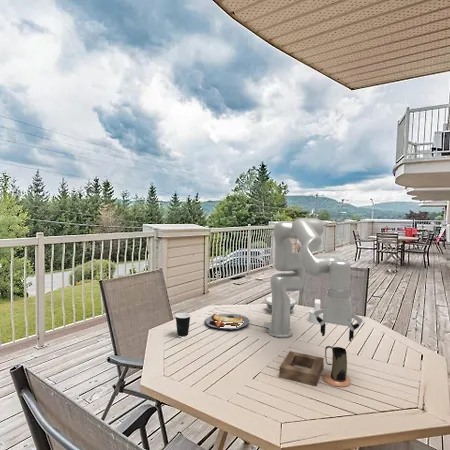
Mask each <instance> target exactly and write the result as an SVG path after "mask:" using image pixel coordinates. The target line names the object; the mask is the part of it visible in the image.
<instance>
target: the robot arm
mask: <svg viewBox="0 0 450 450" xmlns="http://www.w3.org/2000/svg"><path fill="white" fill-rule="evenodd" d="M324 227H325V226H324V223H323V222H322V221H321V219H319V218H314V217H300V218H295V220H293V221H292V220H291V221H289V220H288V221H287V220H286V221H284V220H283V221H279V222H277V223H276V224H275V225H274V227H273V238H274V243H275V248H274V250H275V251H274V269H275V270H276V271H278V272H279V273H275V274H273V275H272V276H271V277H270V283H269V284H270V288H271V296H272V311H271V322H270V323H268V322H264V323H263V327H264V328H267V329H268V332H269V333H268V335H269V336H272V337H274V336H275V338H279V339H280V338H283V339H285V338H290V337H292V336H293V335H294V334H293V333H294V332H293V330H291V311H290V298H291V297H290V296H289V295H288V292H299V291H302V290H303V288H304V285H305V277H306V276H305V275H306V274H305V273H306V272H307V274H309V275H311V276H313V277H325V276H328V287H324V290H323V291H324V293H325V292H326V293H327V294H326V295H325V297H324V304H323V308H322V309H321V308H320V310H318V311H315V312H314V315H315V317H316V320H317V321H318V322H319V323H320V324H319V325H320V334H321V336H322V337H325V334H326V324H327V323H328V324H333V325H339V326H345V327H348V328H349V331H348V341H349V342H352V339H354V336H355V335H354V334H355V330H357V329H358V328H359V327H360V326H361V325H362V323H363V322H364V321H363V318H361V317H359V316H358V315H356V314H354V313H353V303H352V297H351V296H350V291H351V290H350V289H351V287H350V286H351V271H352V269H351V268H352V266H351V265H352V264H351V263H350V261H348V260H343V259H341V258H339V257H337V256H325V255H324V256H314V255H313V253H312V252H315V251H316V250H317V249H319V247H320V246H321V244H322V238H321V235H322V234H323V233H324V229H325V228H324ZM291 239H297V240H298V241H299V243H300V245H301V246H302V247H301V249H300V252H293V243H292V241H291ZM282 272H283V273H282ZM289 297H290V298H289ZM322 313H323V320H322V319H321V318H320V317H319V314H322ZM353 319H354V320H355V321H357V322H356V323H354V324H353V322H352V321H353Z"/></svg>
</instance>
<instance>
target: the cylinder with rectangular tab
mask: <svg viewBox="0 0 450 450" xmlns="http://www.w3.org/2000/svg"><path fill="white" fill-rule="evenodd" d="M318 310H321V299H318V298H317V299H316V298H315V299H314V308H313V309H309V315H308V316H309V317H308V322H309V321H310V322H309V323H311V324H313V323H314V325H320V323H319V322H318V321H317V320H316V317H315V315H314V312H315V311H318ZM319 317H320V318H321V319H322V320H323V313H322V314H319Z"/></svg>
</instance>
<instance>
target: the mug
mask: <svg viewBox="0 0 450 450" xmlns="http://www.w3.org/2000/svg"><path fill="white" fill-rule="evenodd" d="M329 348H331V350H332V362H331V363H328V362H327V350H328V349H329ZM324 350H325V351H324V354H325V362H326V364H327V365H328V366H331V371H330V372H331V379H333V380H334V381H337V382H344V381H346V376H347V373H348V370H347V369H348V355H347V350H346V349H345V348H344V347H340V346H332V345H327V346H326V347H325V349H324Z"/></svg>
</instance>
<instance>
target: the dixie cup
mask: <svg viewBox="0 0 450 450" xmlns="http://www.w3.org/2000/svg"><path fill="white" fill-rule="evenodd" d="M191 316H192V314H191V313H190V312H189V313H188V312H178V313H176V314H174V317H175V324H176V334H177V337H178V336H179V337H186V336H187V335H189V332H190V324H191V323H190V322H191ZM179 337H178V338H179ZM186 338H187V337H186Z"/></svg>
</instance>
